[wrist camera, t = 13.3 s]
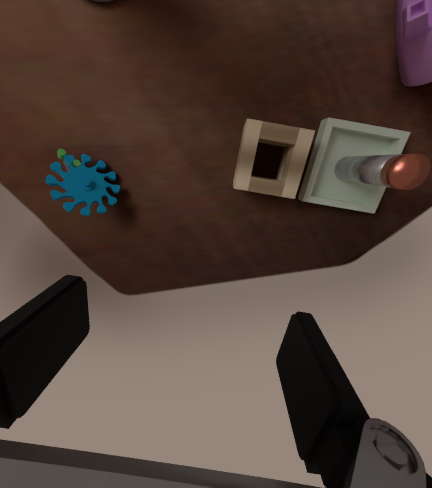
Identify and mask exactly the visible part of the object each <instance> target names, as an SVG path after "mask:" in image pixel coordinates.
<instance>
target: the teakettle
mask: <svg viewBox="0 0 432 488" xmlns="http://www.w3.org/2000/svg"><path fill="white" fill-rule="evenodd" d="M395 39H396V52H397V60H398V68H399V74H400V78H401V81H402V83H403V85H405V86H419V85H423V84H427V83H430V82H432V0H397V2H396V21H395Z"/></svg>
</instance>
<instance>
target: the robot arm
mask: <svg viewBox="0 0 432 488" xmlns="http://www.w3.org/2000/svg"><path fill="white" fill-rule="evenodd" d="M91 1H95V2H109V1H113V0H91ZM88 313H89V312H88V300H87V286H86V282H85V281H83V279H82V277H78V276H72V275H66V276H64V277H62V278H61V279H60V280H58V281H57V282H56V283H54V284H53V285H51V286H50V287H49V288H47V289H46V290H45V291H43V292H42V293H40V294H39V295H37V296H36V297H35V298H33V299H32V300H30V301H29V302H28V303H26V304H25V305H23V306H22V307H21V308H19V309H18V310H16V311H15V312H14V313H12V314H11V315H9V316H8V317H7V318H5V319H4V320H2V321H1V322H0V428H6V429H9V428H10V426H11V425H12V424H13V422H14V421H15V420H16V419H17V418H20V417H22V416H23V415H24V414H25V413H26V412H27V410H28V409H29V408H30V407H31V405H32V404H33V403H34V402H35V401H36V399H37V398H38V397H39V396H40V394H41V393H42V392H43V390H44V389H45V388H46V387H47V385H48V384H49V383H50V382H51V380H52V379H53V378H54V376H55V375H56V374H57V373H58V372H59V370H60V369H61V368H62V367H63V365H64V364H65V363H66V362H67V360H68V359H69V358H70V356H71V355H72V354H73V353H74V351H75V350H76V349H77V348H78V346H79V345H80V344H81V343H82V341H83V340H84V339H85V338H86V336H87V335H88V332H89V329H90V328H89V327H90V325H89V314H88ZM276 365H277V369H278V373H279V377H280V381H281V385H282V390H283V394H284V398H285V402H286V406H287V410H288V414H289V418H290V422H291V426H292V430H293V434H294V438H295V442H296V446H297V450H298V454H299V457H300V458H301V460H304V462H305V465H306V470H307V472H308V473H313V474H320V475H321V478H322V481H323V484H324V486H325V488H432V477H430V476H429V475H428V474H427V473H426V471H425V467H424V463H423V460H422V459H421V456H420V454H419V453H418V451H417V450H416V448H415V447H414V445H413V444H412V443H411V442H410V441H409V440H408V439H407V438H406V437H405V435H404V434H403V433H401V432H400V431H399V430H398V429H396V428H395V427H394V426H392V425H391V424H389V423H387V422H386V421H383V420H380V419H376V418H370V417H369V415H368V414H367V412H366V410H365V408H364V407H363V405H362V403H361V401H360V399H359V398H358V396H357V394H356V393H355V390H354V388H353V387H352V385H351V384H350V381H349V380H348V378H347V376H346V374H345V372H344V371H343V369H342V367H341V365H340V363H339V362H338V360H337V358H336V356H335V354H334V353H333V351H332V350H331V348H330V346H329V344H328V343H327V341H326V339H325V337H324V335H323V334H322V332H321V330H320V328H319V326H318V325H317V323H316V321H315V319H314V318H313V316H312V315H311V314H310V313H304V312H297V313H296V314H293V315H292V316H291V319H290V321H289V324H288V327H287V330H286V333H285V335H284V338H283V341H282V344H281V347H280V349H279V352H278V355H277V359H276ZM0 488H320V487H315V486H309V485H303V484H297V483H291V482H286V481H280V480H274V479H268V478H262V477H255V476H249V475H242V474H235V473H229V472H222V471H216V470H209V469H203V468H196V467H190V466H183V465H175V464H169V463H162V462H155V461H148V460H142V459H135V458H127V457H121V456H114V455H107V454H101V453H94V452H87V451H79V450H72V449H64V448H58V447H50V446H44V445H36V444H29V443H21V442H15V441H7V440H0Z"/></svg>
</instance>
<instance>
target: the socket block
mask: <svg viewBox="0 0 432 488" xmlns="http://www.w3.org/2000/svg"><path fill="white" fill-rule="evenodd" d="M314 133H315V131H314V130H309V129H303V128H298V127H292V126H286V125H281V124H275V123H270V122H264V121H259V120H253V119H248V118H247V120H246V122H245V124H244V127H243V133H242V138H241V143H240V149H239V154H238V159H237V165H236V170H235V176H234V181H233V187H234V189H240V190H245V191H251V192H257V193H263V194H268V195H274V196H280V197H286V198H291V199H295V197H296V193H297V190H298V187H299V183H300V180H301V176H302V173H303V170H304V166H305V163H306V160H307V156H308V153H309V150H310V146H311V143H312V139H313V136H314ZM258 143H263V144H269V145H275V146H280V147H284V150H283V154H282V158H281V162H280V166H279V170H278V174H277V178H276V179H271V178H266V177H260V176H254V175H251V173H252V168H253V163H254V159H255V154H256V149H257V145H258Z"/></svg>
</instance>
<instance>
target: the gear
mask: <svg viewBox="0 0 432 488" xmlns="http://www.w3.org/2000/svg"><path fill="white" fill-rule="evenodd" d="M57 153H58V157H59V158H60V159H64V160H63V162H64V166H65V167H66V169H67V170H68V172H67V173H64V172H62V170H61V165H60V163H59V162H54V163H53V164H51V165H50V167H51V169H52V170H53V171H54V172H57V173H58V174H60V175H61V176H62V177H63V179H64V181H63V182H58V181H57V180H56V179H55V177H54V176H52V175H48V176H47V178H46V184H48V185H55V186H59V187H62V188H64V189H65V190H66V193H60V192H58V191H56V190H52V191H51V196H52V199H53V200H59V199H61V198H65V197H69V198H74V199H75V202H73V203H70V202H66V203H64V204H63V207H64V208H65V209H66V210H67V211H68V212H71V211H73V209H74V207H75V206H76V205H78V204H80V203H86V204H87V207H85V208H82V209H81V214H82V215H84V216H89V215H90V206H91V205H92V203H93V202H97V203H99V206H98V208H97V212H98V213H99V214H101V213H106V207H105V206H104V205H103V203H102V197H103V196H105V197H107V198H108V203H109V205H111V206H112V205H114V204H115V203H116V202H117V199H116V198H114V197H112V196H111V195H109V194H108V192H107V191H106V188H110V189H111V190H112V191H113V193H115V194H118V192H119V190H120V186H119V185H112V184H109V183H107V182H106V181H104V178H108V179H110V180H112V181H115V180H116V174H115V172H113V171H111V172H109V173H106V174H102V173H98V172H97V171H96V170H97V169H100V170H104V169H105V168H106V164H105V163H104V162H103V161H102V160H99V161H98V163H97V164H96V165H95V166H94V167H91V168H87V167H85V164H88V163H90V162H91V157H90V156H88V155H86V154H82V156H81V160H82V163H80V161H78V160H74V156H73V155H66V152H65V150H63V149H58V151H57Z"/></svg>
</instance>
